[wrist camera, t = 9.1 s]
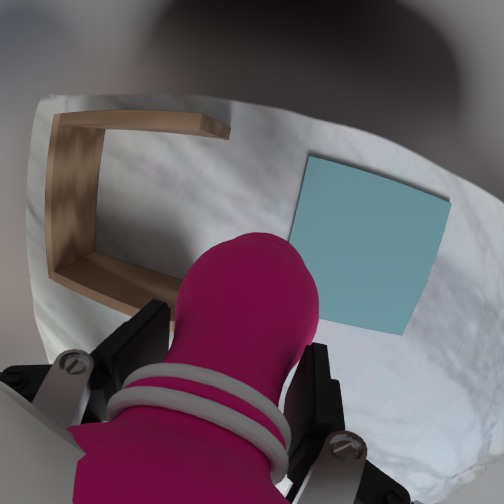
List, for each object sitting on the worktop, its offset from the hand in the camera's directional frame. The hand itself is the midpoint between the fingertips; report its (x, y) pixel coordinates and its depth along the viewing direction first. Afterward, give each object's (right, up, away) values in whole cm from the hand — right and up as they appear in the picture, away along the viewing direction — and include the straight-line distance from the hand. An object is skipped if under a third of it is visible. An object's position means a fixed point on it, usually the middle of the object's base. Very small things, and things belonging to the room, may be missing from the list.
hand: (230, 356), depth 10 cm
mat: (+12, +4, +16) cm, 21 cm away
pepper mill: (+1, +2, +8) cm, 9 cm away
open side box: (-11, +10, +19) cm, 24 cm away
